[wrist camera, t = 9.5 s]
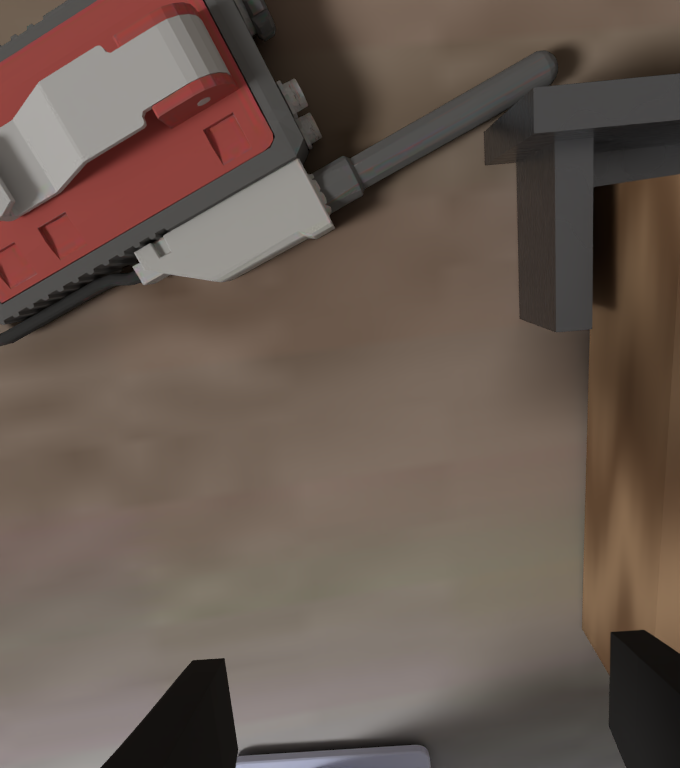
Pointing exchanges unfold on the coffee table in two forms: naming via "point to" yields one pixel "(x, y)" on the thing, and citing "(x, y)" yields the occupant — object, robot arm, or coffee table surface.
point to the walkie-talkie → (174, 150)
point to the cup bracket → (578, 178)
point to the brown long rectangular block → (634, 416)
